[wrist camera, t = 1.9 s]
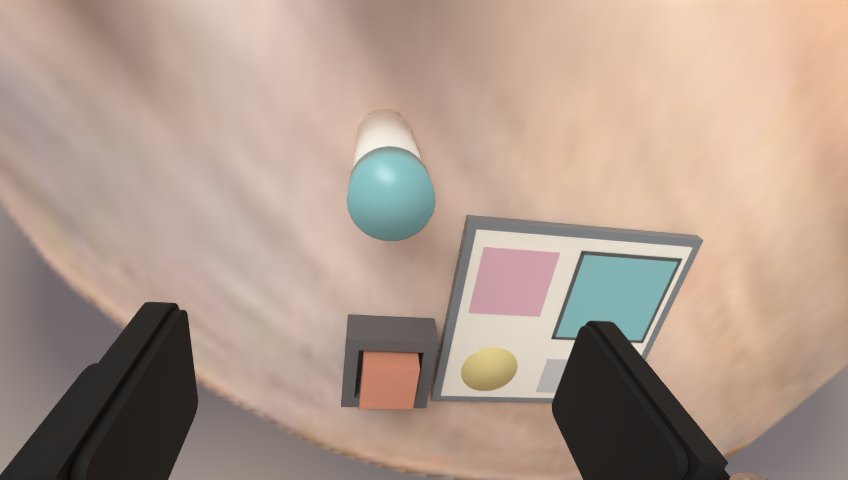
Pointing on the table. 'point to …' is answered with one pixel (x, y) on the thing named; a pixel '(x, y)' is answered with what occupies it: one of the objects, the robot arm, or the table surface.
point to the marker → (389, 179)
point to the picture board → (549, 301)
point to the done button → (388, 380)
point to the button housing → (388, 337)
